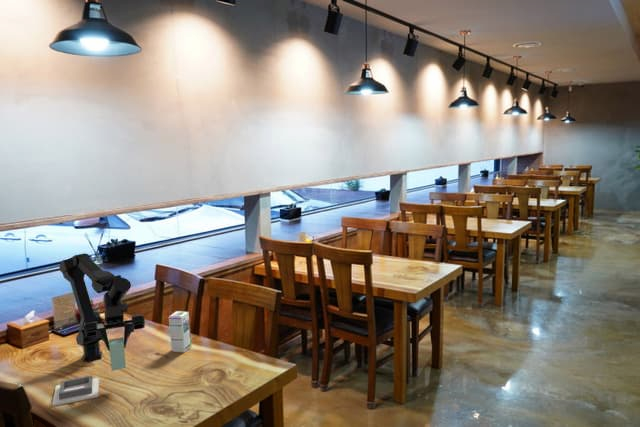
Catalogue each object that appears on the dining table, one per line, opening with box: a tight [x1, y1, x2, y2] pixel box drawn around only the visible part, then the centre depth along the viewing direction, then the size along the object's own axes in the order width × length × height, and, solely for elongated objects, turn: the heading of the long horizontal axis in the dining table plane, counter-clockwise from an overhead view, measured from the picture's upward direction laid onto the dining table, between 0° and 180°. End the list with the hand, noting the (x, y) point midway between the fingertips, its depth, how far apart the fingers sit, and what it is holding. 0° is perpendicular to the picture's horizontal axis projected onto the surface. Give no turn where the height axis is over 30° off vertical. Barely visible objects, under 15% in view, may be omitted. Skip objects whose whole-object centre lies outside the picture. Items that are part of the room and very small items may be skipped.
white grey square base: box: [52, 374, 100, 407], centre depth 162 cm, size 13×13×3 cm
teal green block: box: [108, 336, 127, 372], centre depth 164 cm, size 4×4×9 cm
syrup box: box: [168, 310, 192, 353], centre depth 193 cm, size 6×6×14 cm
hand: (117, 349), depth 162 cm, fingers closed on teal green block, 4 cm apart
